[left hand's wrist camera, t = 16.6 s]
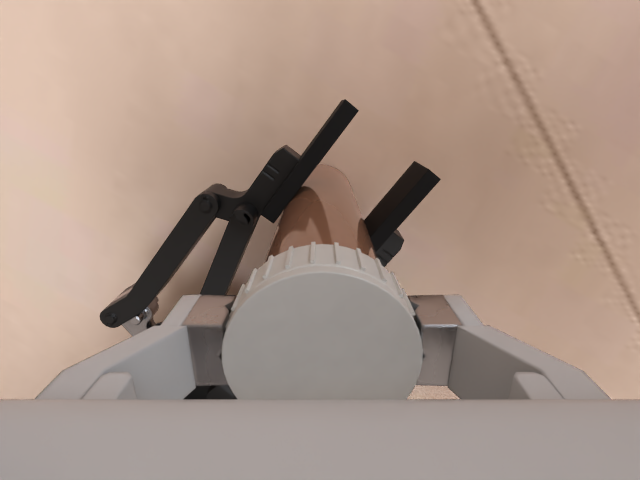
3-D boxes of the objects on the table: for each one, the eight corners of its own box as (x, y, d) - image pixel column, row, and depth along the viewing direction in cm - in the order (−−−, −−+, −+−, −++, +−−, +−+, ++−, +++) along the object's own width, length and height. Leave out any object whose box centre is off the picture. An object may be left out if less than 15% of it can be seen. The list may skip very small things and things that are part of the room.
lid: (213, 360, 11) (193, 406, 9) (269, 211, 9) (258, 235, 7) (363, 409, 11) (370, 461, 10) (440, 279, 10) (465, 314, 8)
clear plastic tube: (325, 151, 24) (334, 236, 8) (363, 199, 25) (438, 356, 9) (278, 191, 25) (203, 337, 9) (317, 235, 26) (312, 434, 10)
